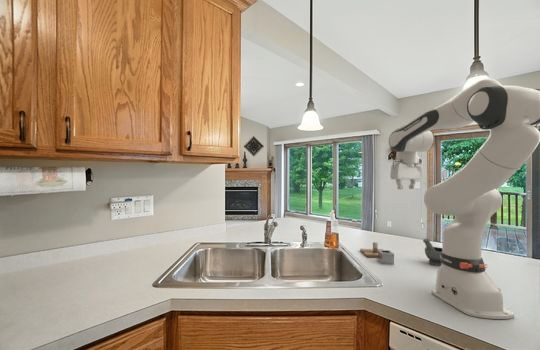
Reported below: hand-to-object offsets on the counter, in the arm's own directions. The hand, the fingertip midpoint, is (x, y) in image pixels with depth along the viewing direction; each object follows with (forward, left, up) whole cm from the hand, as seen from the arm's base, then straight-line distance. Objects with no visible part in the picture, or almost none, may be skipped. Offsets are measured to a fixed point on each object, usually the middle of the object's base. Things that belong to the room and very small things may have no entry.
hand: (405, 189), depth 124 cm
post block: (+14, +9, -35) cm, 39 cm away
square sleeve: (+2, +8, -35) cm, 36 cm away
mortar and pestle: (+2, -15, -36) cm, 39 cm away
